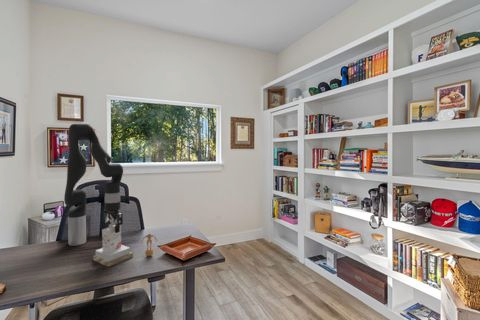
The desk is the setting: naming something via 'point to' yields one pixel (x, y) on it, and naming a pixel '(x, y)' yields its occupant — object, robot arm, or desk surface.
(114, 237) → the ink cartridge box
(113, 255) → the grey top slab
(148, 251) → the figurine
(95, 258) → the birch base slab
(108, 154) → the robot arm
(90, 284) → the desk surface
